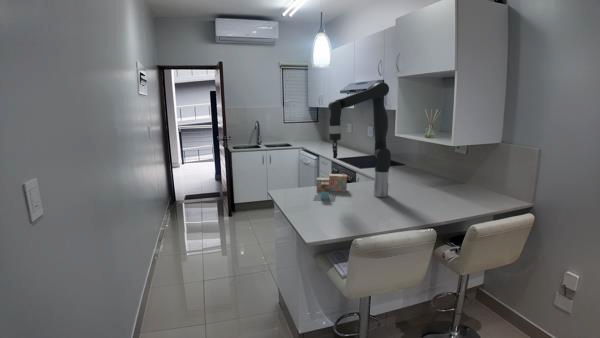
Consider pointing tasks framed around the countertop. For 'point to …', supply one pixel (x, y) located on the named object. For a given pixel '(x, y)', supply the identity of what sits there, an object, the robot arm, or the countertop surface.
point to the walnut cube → (324, 187)
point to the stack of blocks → (334, 182)
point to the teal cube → (324, 195)
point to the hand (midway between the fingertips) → (335, 157)
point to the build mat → (331, 199)
